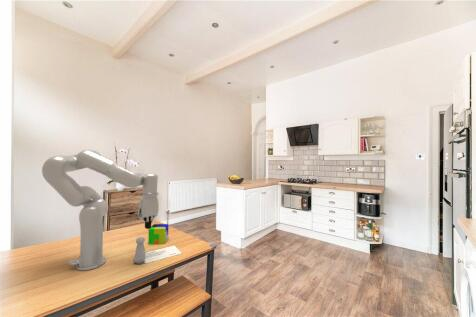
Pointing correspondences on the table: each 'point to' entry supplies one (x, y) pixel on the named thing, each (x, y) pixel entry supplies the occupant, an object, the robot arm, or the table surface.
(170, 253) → the letter
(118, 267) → the table surface
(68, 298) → the table surface
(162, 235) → the puzzle toy
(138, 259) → the salt shaker
